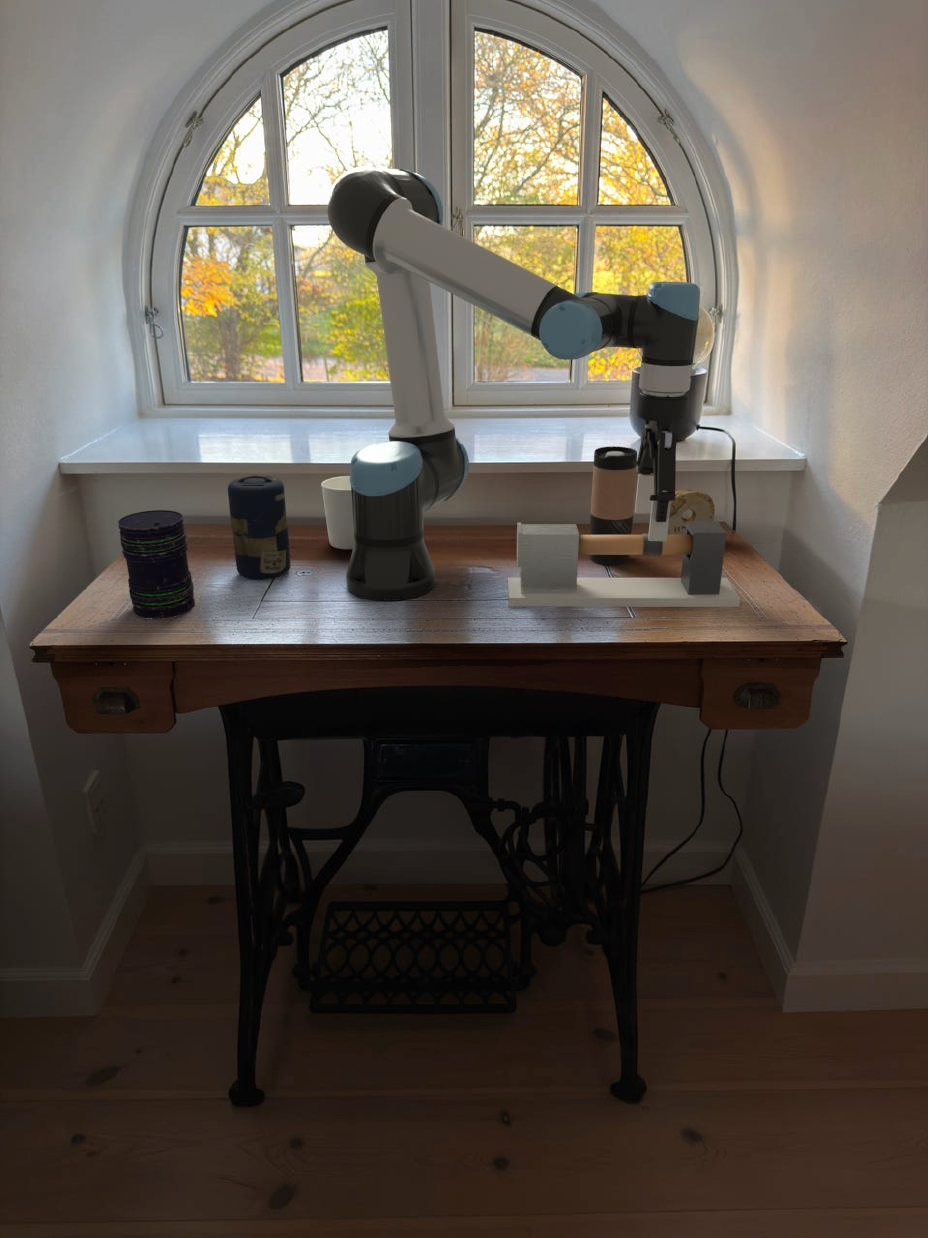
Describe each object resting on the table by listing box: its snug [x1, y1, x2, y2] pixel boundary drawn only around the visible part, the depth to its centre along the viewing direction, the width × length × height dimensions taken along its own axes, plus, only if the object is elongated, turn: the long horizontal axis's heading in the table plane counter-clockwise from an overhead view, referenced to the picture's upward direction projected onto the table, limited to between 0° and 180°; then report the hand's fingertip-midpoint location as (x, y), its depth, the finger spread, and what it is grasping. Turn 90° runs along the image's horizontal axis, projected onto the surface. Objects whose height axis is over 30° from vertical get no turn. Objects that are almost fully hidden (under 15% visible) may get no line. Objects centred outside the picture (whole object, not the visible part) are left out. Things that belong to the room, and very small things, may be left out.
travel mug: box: [589, 445, 638, 566], centre depth 160 cm, size 8×8×20 cm
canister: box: [227, 474, 292, 581], centre depth 154 cm, size 10×10×18 cm
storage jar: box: [117, 509, 196, 620], centre depth 142 cm, size 10×10×15 cm
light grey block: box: [516, 522, 580, 594], centre depth 145 cm, size 10×5×10 cm, turn 89°
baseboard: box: [507, 577, 741, 608], centre depth 147 cm, size 37×9×2 cm, turn 89°
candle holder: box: [320, 475, 355, 550], centre depth 171 cm, size 10×10×12 cm
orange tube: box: [578, 532, 692, 557], centre depth 144 cm, size 22×4×4 cm, turn 89°
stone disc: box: [667, 489, 716, 535], centre depth 172 cm, size 10×4×10 cm, turn 97°
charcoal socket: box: [680, 520, 727, 595], centre depth 144 cm, size 5×6×10 cm
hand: (649, 526), depth 143 cm, fingers open, 13 cm apart
